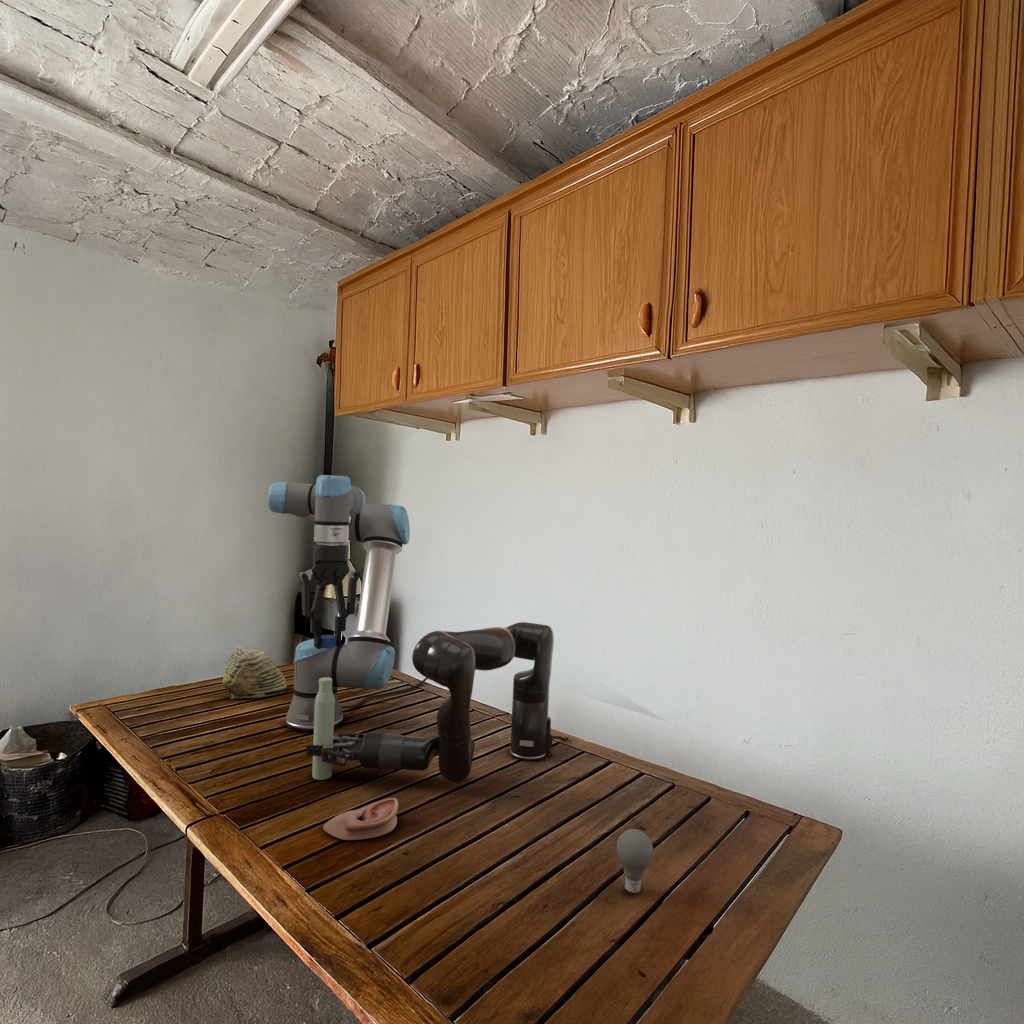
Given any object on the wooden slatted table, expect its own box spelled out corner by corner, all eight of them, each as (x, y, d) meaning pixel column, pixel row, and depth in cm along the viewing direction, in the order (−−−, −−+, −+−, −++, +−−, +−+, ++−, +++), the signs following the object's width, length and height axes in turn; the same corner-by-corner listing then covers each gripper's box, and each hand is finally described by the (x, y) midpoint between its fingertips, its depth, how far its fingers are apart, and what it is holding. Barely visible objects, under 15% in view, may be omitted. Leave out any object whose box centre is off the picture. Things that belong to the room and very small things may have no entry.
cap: (340, 645, 145) (340, 636, 144) (328, 649, 141) (329, 639, 141) (326, 643, 146) (326, 634, 146) (314, 646, 143) (315, 637, 142)
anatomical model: (315, 814, 118) (343, 787, 129) (314, 835, 118) (343, 807, 129) (382, 825, 115) (405, 796, 127) (381, 846, 116) (404, 816, 127)
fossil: (218, 695, 195) (220, 647, 195) (278, 685, 208) (279, 640, 207) (228, 703, 189) (230, 653, 188) (289, 692, 201) (290, 645, 201)
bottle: (307, 776, 143) (311, 679, 143) (322, 770, 147) (326, 675, 146) (321, 781, 141) (325, 682, 140) (336, 774, 145) (339, 678, 144)
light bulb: (610, 879, 108) (613, 822, 108) (644, 879, 109) (647, 822, 109) (619, 902, 102) (622, 840, 102) (655, 901, 103) (658, 840, 103)
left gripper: (296, 545, 135) (293, 654, 136) (373, 545, 144) (369, 646, 145) (288, 542, 142) (284, 646, 142) (362, 542, 151) (358, 639, 151)
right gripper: (394, 723, 150) (323, 718, 151) (376, 746, 135) (298, 740, 137) (392, 755, 150) (322, 749, 151) (375, 781, 135) (297, 775, 137)
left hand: (327, 646), depth 144 cm, fingers closed on cap, 4 cm apart
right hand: (311, 745), depth 144 cm, fingers closed on bottle, 4 cm apart
